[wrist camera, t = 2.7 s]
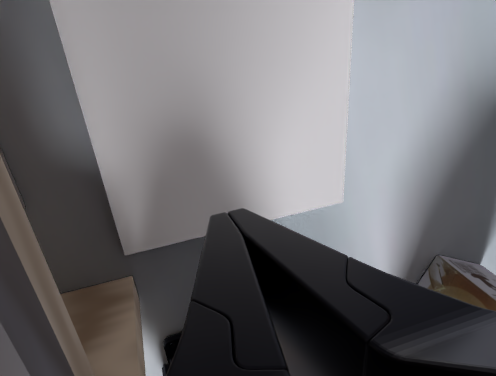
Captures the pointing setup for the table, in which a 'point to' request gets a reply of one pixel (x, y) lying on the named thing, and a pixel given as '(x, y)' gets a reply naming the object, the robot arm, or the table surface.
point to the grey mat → (210, 107)
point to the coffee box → (461, 281)
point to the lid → (31, 301)
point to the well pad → (12, 178)
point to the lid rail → (109, 326)
